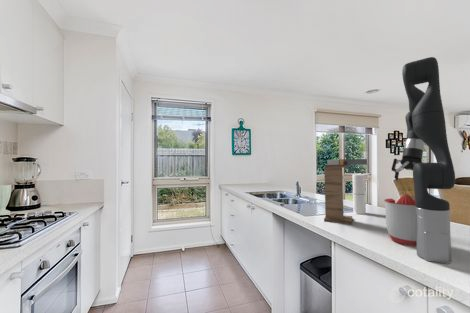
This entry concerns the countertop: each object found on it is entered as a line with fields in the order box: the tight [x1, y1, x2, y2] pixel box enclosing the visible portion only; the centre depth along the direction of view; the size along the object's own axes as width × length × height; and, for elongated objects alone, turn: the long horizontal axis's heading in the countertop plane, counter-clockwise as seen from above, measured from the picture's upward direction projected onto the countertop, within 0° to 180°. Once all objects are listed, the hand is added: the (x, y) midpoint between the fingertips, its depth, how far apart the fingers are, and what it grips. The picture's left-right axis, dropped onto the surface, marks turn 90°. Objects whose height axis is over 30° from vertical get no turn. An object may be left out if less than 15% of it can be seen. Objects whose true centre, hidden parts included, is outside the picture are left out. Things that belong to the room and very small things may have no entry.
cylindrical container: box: [351, 173, 367, 215], centre depth 149 cm, size 7×7×25 cm
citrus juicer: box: [384, 193, 417, 247], centre depth 97 cm, size 16×17×20 cm
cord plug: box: [326, 158, 368, 166], centre depth 130 cm, size 20×5×3 cm, turn 62°
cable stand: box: [323, 161, 353, 225], centre depth 132 cm, size 13×14×34 cm
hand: (407, 181), depth 108 cm, fingers open, 8 cm apart
